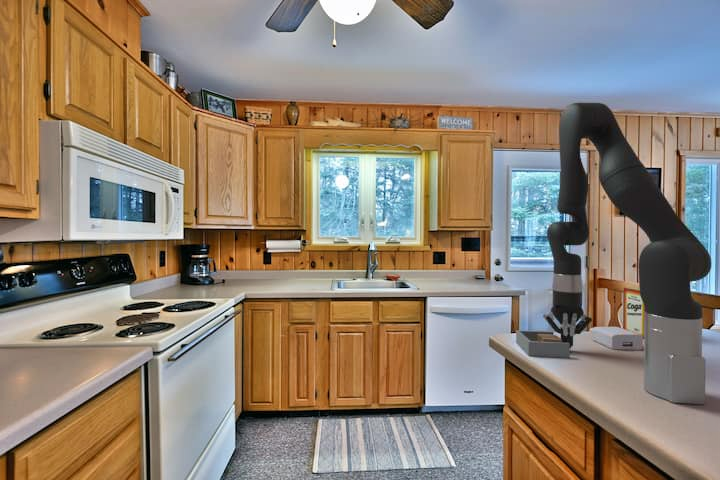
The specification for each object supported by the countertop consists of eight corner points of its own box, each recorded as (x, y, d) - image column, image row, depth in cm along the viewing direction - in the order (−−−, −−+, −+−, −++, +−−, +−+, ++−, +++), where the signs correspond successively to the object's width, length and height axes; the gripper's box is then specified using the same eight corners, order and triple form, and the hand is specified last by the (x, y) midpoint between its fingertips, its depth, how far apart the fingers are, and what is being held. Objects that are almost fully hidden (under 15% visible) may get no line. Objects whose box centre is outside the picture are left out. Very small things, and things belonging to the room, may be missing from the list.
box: (569, 357, 95) (569, 343, 95) (528, 356, 97) (528, 342, 97) (552, 344, 107) (552, 331, 107) (516, 342, 109) (516, 330, 109)
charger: (606, 335, 117) (643, 350, 102) (579, 335, 117) (612, 350, 102) (606, 321, 117) (643, 334, 102) (579, 321, 117) (612, 334, 102)
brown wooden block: (561, 353, 99) (562, 339, 99) (543, 352, 100) (543, 338, 100) (555, 347, 104) (555, 334, 104) (537, 347, 105) (537, 334, 105)
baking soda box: (623, 331, 121) (623, 286, 120) (641, 331, 121) (642, 286, 120) (645, 340, 111) (646, 290, 111) (665, 339, 111) (666, 290, 111)
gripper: (547, 290, 98) (547, 350, 99) (598, 291, 96) (598, 353, 96) (538, 286, 106) (538, 342, 106) (585, 287, 103) (585, 344, 104)
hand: (566, 347), depth 101 cm, fingers closed
